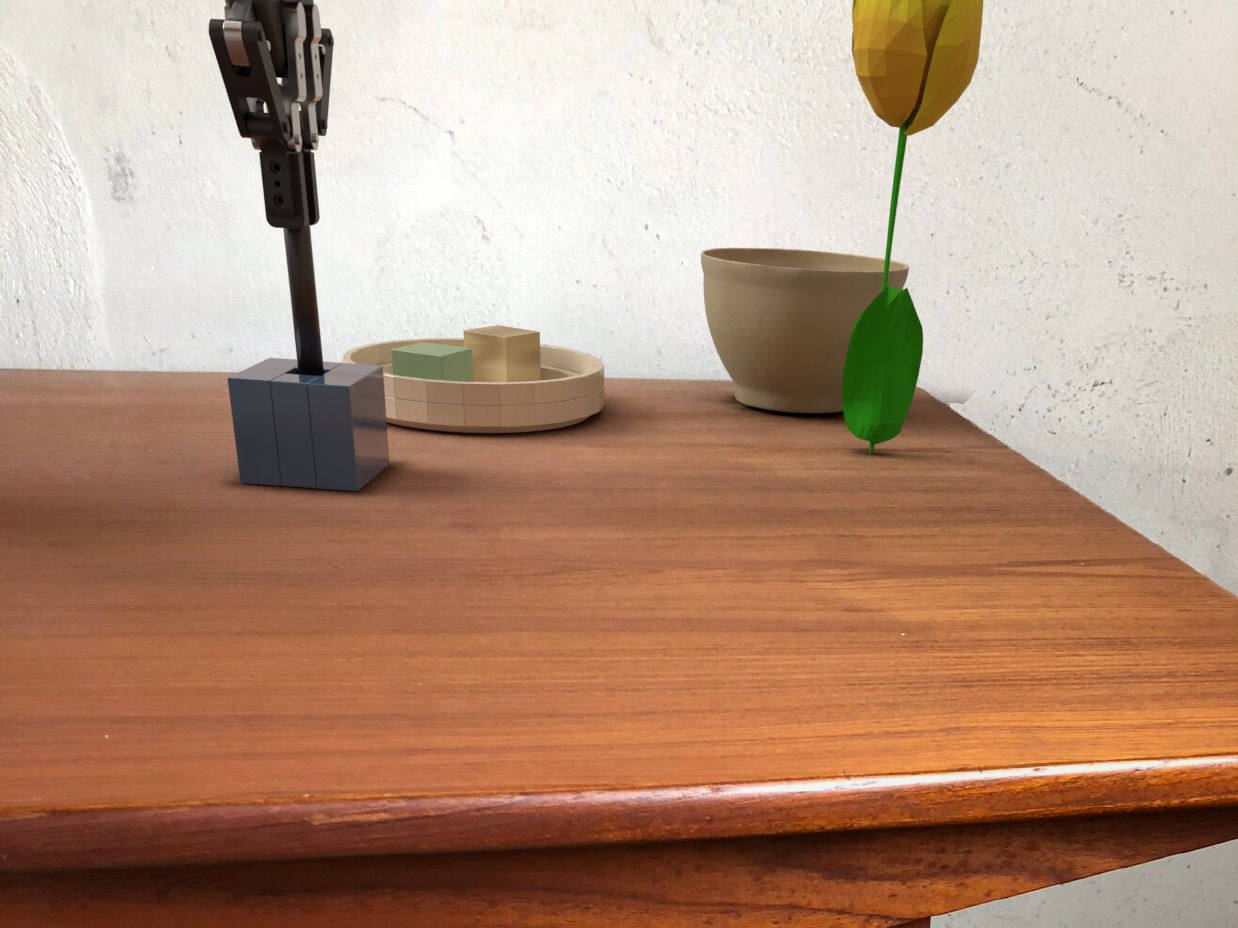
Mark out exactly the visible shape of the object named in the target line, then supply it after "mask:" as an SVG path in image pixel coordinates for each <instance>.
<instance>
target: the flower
mask: <svg viewBox="0 0 1238 928" xmlns="http://www.w3.org/2000/svg"><path fill="white" fill-rule="evenodd" d="M983 13H984V0H852V8H851V22H852V23H851V24H852V35H851V53H852V58H853V62H854V64H853V65H854V70H855V75H856V77H857V80H858V82H859V84H860V87H861V90H862V92H863V94H864V95H865V98H866V99H867V101H868V103H869V105H870V108H871V109H872V111H873V112H874V114H875V116H876V117H877V118H879V119H880V120H882V121H883V122H885V124H887V125H888V126H890V127H892V128H899V129H898V140H897V144H896V145H897V148H896V155H895V164H894V173H893V179H892V187H891V197H890V205H889V217H888V225H887V234H886V235H887V238H886V245H885V255H884V256H885V257H884V259H885V265H884V275H883V285H882V292H881V293H880V294H879V295H878V296H877V297H876V298H875V299H874V300H873V301H872V302H871V303H870V305H869V306H868V307H867V308H866V309H865V310H864V311H863V313H862V314H861V315H860V316H859V318H858V319H857V320H856V321H855V324H854V327H853V331H852V334H851V337H850V342H849V346H848V351H847V355H846V360H845V365H844V369H843V380H842V405H843V411H842V412H843V418H844V422H845V424H846V428H847V431H848V432H850V433H851V434H852V435H854V436H855V437H856V439H857V438H858V439H860V440H862V441H866V442H869V449H868V453H869V454H874V453H875V445H878V444H881V443H884V442H888V441H890V440H892V439H894V438H896V437H897V436H898V435H900V434H901V432H902V429H903V427H904V424H905V421H906V418H907V416H908V413H909V411H910V407H911V404H912V401H913V399H914V395H915V391H916V388H917V384H918V380H919V376H920V375H919V374H920V370H921V364H922V359H923V353H924V352H923V351H924V332H923V331H924V329H923V324H922V322H921V320H920V318H919V315H918V312H917V310H916V307H915V305H914V301H913V299H912V297H911V293H910V291H909V288H908V287H905V288H903V290H902V291H901V290H898V289H896V288H894V287H891V286H888V287H887V284H888V274H889V265H890V260H891V257H892V256H891V255H892V249H893V239H894V233H895V226H896V225H895V224H896V217H897V211H898V210H897V209H898V202H899V195H900V188H901V182H902V176H903V175H902V174H903V168H904V161H905V154H906V149H907V147H906V145H907V139H908V137H909V136H913V135H915V134H918V133H919V132H922V131H925V130H927V129H929V128H931V127H934V126H935V124H937V123H938V122H939V121H940V120H941V118H942V117H944V116H945V115H946V114H947V112H948V111H949V110H951V108H952V107H953V106H954V105H955V104H956V103H958V101H959V99H960V98H961V96H962V95H963V94H964V92H965V91H966V89H967V88H968V87H969V86H970V84H971V82H972V80H973V76H974V73H975V71H976V69H977V66H978V62H979V57H980V47H981V37H982V25H983Z"/></svg>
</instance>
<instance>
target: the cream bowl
mask: <svg viewBox="0 0 1238 928" xmlns="http://www.w3.org/2000/svg"><path fill="white" fill-rule="evenodd" d="M421 342H427V343H434V344H442V345H450V346H458V347H464V337H429V338H427V337H426V338H424V337H423V338H411V339H410V338H409V339H397V340H395V339H394V340H387V341H380V342H373V343H368V344H364V345H360V346H355V347H353V348H351V349H349V350H347V351H345V352H344V353H343V354H342V359H341V360H342V362H341V363H352V364H366V365H381V366H383V377H384V391H385V405H386V420H387V424H391V425H396V426H401V427H406V428H412V429H419V430H429V431H435V432H436V431H437V432H449V433H465V434H512V433H513V434H514V433H530V432H539V431H541V432H542V431H547V430H555V429H561V428H565V427H569V426H573V425H576V424H579V423H581V422H583V421H585V420H587V419H588V418H589V417H591V416H593V415H595V414H598V413H600V411H601V410H602V408H604V406H605V364H604V363H603V362H602V359H600V358H598V357H596V356H595V355H592V354H590V353H587V352H583V351H579V350H576V349H572V348H569V347H568V348H567V347H562V346H558V345H551V344H547V343H540V378H541V380H540V381H526V382H461V381H447V380H432V379H423V378H415V377H407V376H399V375H394V374H393V373H392V357H391V349H395V348H399V347H403V346H408V345H412V344H417V343H421Z"/></svg>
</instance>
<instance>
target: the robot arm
mask: <svg viewBox="0 0 1238 928" xmlns="http://www.w3.org/2000/svg"><path fill="white" fill-rule="evenodd" d="M314 1H315V0H224V3H223V11H224V19H222V18H210V19H209V22H208V36H209V39H210V40H209V41H210V43H211V46H212V50H213V53H214V56H215V60H216V62H217V66H218V69H219V72H220V75H221V79H222V81H223V85H224V88H225V91H226V94H227V97H228V101H229V104H230V107H231V111H232V114H233V117H234V120H235V121H234V122H235V124H236V127H237V130H238V134H239V135H240V137H241V138H243V139H250V141H251V145H252V148H253V149H254V150H255V151H259V152H258V156H259V165H260V172H261V173H260V175H261V185H262V193H263V201H264V202H263V203H264V211H265V218H266V219H265V220H266V222H267V223H268V225H269V226H271V227H272V228H275V229H283V228H288V229H300V228H304V227H305V226H306V225H307V224H308V210H309V220H310V227H312V226H315V225H317V224H318V223H319V221H320V219H321V218H320V217H321V216H320V205H319V204H320V203H319V194H318V181H317V172H316V161H315V160H316V159H315V152H314V151H317V150H318V149H319V143H320V137H326V136H327V131H328V122H329V121H328V120H329V107H330V95H331V81H332V80H331V79H332V68H333V55H334V54H333V53H334V46H335V40H334V37H333V34H332V30H331V29H330V28H325V27H324V28H323V27H322V26H321V25H322V24H321V15H320V9H319V7H318V5H317V4H316V3H314ZM278 79H281V80H280V81H281V82H280V83H279V82H278V81H279V80H278ZM264 105H265V106H264ZM265 109H266V112H265ZM301 145H302V147H303V156H302V154H296V153H294V152H300V151H301ZM312 151H313V152H312ZM303 157H304V167H303ZM304 168H305V178H306V188H305V178H304ZM306 189H307V199H308V210H307V199H306Z"/></svg>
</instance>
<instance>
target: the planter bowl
mask: <svg viewBox="0 0 1238 928" xmlns="http://www.w3.org/2000/svg"><path fill="white" fill-rule="evenodd" d="M700 264H701V269H702V273H703V285H702V286H703V302H704V309H705V311H704V312H705V316H706V317H705V318H706V321H707V325H708V330H709V333H710V336H711V339H712V342H713V345H714V347H715V348H714V349H715V350H716V353H717V354H718V357H719V359H720V361H721V363H722V365H723V367H724V369H725V371H726V372H727V374H728V375H729V378H730V379H731V380H732V382H733V388H734V398H735V400H736V401H738V402H739V403H741V404H742V405H744V406H746V407H753V408H757V409H761V410H768V411H774V412H782V413H794V414H829V413H837V414H840V413H842V412H843V405H842V380H843V369H844V365H845V360H846V355H847V351H848V346H849V342H850V337H851V334H852V331H853V327H854V324H855V321H856V320H857V319H858V318H859V316H860V315H861V314H862V313H863V311H864V310H865V309H866V308H867V307H868V306H869V305H870V303H871V302H872V301H873V300H874V299H875V298H876V297H877V296H878V295H879V294H880V293H881V292H882V285H883V275H884V265H885V258H881V257H874V256H867V255H859V254H850V253H841V252H834V251H833V252H832V251H822V250H812V249H799V248H798V249H797V248H796V249H795V248H777V247H776V248H775V247H774V248H773V247H772V248H771V247H716V248H715V247H713V248H708V249H705V250H702V251H701V253H700ZM909 269H910V266H909V265H908V264H907V263H904V262H902V261H901V262H900V261H897V260H894V259H893V260H892V259H890V265H889V274H888V284H887V287H888V286H891V287H894V288H896V289H898V290H901V291H902V290H904V287H905V285H906V282H907V280H908V276H909V271H910V270H909Z"/></svg>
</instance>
